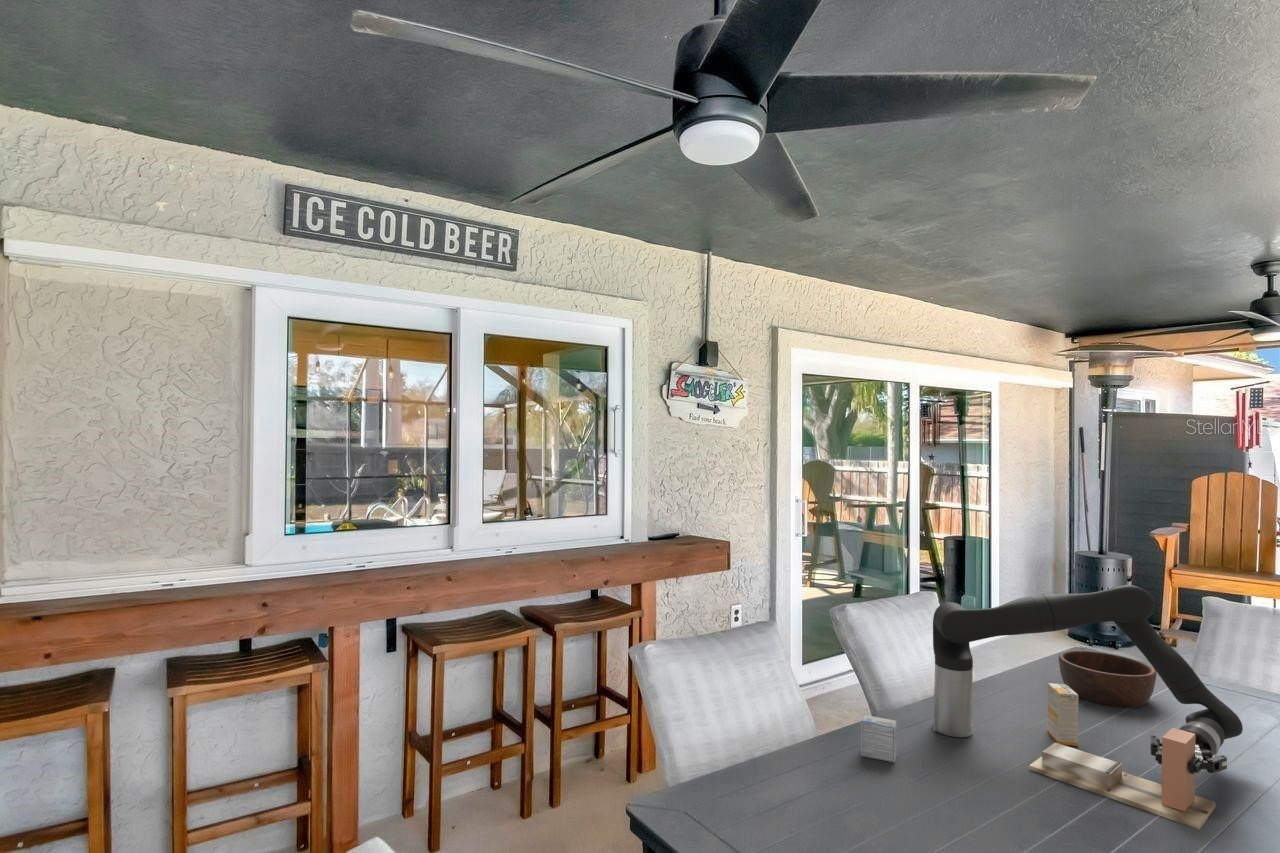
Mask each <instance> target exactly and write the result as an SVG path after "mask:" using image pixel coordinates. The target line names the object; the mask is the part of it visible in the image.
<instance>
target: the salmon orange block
mask: <svg viewBox="0 0 1280 853" xmlns="http://www.w3.org/2000/svg"><path fill="white" fill-rule="evenodd" d="M1195 736H1196V734H1194V733H1191V732H1187V731H1183V730H1180V728H1175V727H1172V728H1170V729H1169V730H1168V731H1167V732H1166V733H1165V734H1163V736H1162V738H1161V739H1162V740H1161V741H1162V764H1161V785H1162V793H1161V804H1163V805H1166V806H1169V807H1172V808H1175V809H1178V810H1181V811H1184V812H1185V811H1186V810H1187V808H1188V807H1189V806H1190V805H1191V804H1192V802H1193V801H1194V800H1195V796H1196V773H1194V774H1191V773H1189V763H1190V762H1191V761H1192V759H1193V758H1194V752H1195Z"/></svg>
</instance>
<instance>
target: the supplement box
mask: <svg viewBox="0 0 1280 853" xmlns="http://www.w3.org/2000/svg"><path fill="white" fill-rule="evenodd" d="M1046 718H1047V726H1046V727H1047V728H1046V730H1047V731H1046V732H1047V733H1048V734H1049V735H1050V736H1051V738H1052V739H1053V740H1054V741H1055V743H1058V744H1061V745H1065V746H1075V747H1078V746H1079V745H1078V744H1079V737H1078V736H1079V697H1078V694H1077V693H1075V692H1074V691H1073V690H1072V689H1071V688H1070V687H1068V686H1067V685H1065V684H1063V683H1052V682H1048V683H1047V717H1046Z"/></svg>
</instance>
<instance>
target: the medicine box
mask: <svg viewBox="0 0 1280 853" xmlns="http://www.w3.org/2000/svg"><path fill="white" fill-rule="evenodd" d="M860 724H861V725H860V726H861V728H860V730H861V733H860V734H861V736H860V756H861V757H863V758H870V759H876V760H880V761H885V762H889V763H896V759H897V750H898V748H897V742H898V741H897V735H898V734H897V732H898V731H897V729H898V727H897V726H898V725H897V724H898V722H897V720H894V719H889V718H883V717H879V716H872V715H863V717H862V719H861V723H860Z"/></svg>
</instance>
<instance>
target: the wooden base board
mask: <svg viewBox="0 0 1280 853" xmlns="http://www.w3.org/2000/svg"><path fill="white" fill-rule="evenodd" d="M1028 770H1030V771H1032V772H1035V773H1038V774H1040V775H1043V776H1047V777H1049V778H1052V779H1055V780H1057V781H1061V782H1063V783H1066V784H1069V785H1071V786H1075V787H1077V788H1080V789H1083V790H1086V791H1088V792H1092V793H1095V794H1098V795H1100V796H1104V797H1105V798H1109V799H1112V800H1114V801H1117V802H1121V803H1123V804H1124V805H1125V804H1126V805H1128V806H1132V807H1134V808H1137V809H1140V810H1142V811H1146V812H1149V813H1152V814H1153V815H1157V816H1159V817H1163V818H1164V819H1168V820H1171V821H1173V822H1177V823H1178V824H1179V823H1180V824H1182V825H1185V826H1188V827H1191V828H1193V829H1195V830H1196V829H1197V830H1200V829H1201V828H1202V827H1203V825H1204V824H1205V823H1206V821H1207V820H1208V818H1209V817H1210V815H1211V814H1212V813H1213V812H1214V810H1215V809H1216V807H1217V802H1216V801H1214V800H1210V799H1206V798H1204V797H1201V796H1198V795H1195V800H1194V801H1193V802H1192V804H1191V805H1190V806H1189V807H1188V808H1187V810H1186V811H1185V812H1184V811H1181V810H1178V809H1175V808H1172V807H1169V806H1166V805H1163V804H1161V793H1162V783H1159V782H1155V781H1152V780H1149V779H1145V778H1142V777H1139V776H1138V775H1133V774H1131V773H1127V772H1124V771H1123V763H1121V762H1120V761H1116V760H1115V761H1114V760H1111V759H1108V758H1106V757H1102V756H1099V755H1096V754H1092V753H1089V752H1086V751H1083V750H1079V749H1077V748H1074V747H1070V746H1069V745H1063V744H1058V743H1057V742H1054V743H1052V744H1051V745H1049V746H1048V747H1047V748H1045V749H1043V751H1041V756H1040V757H1039V758H1038V759H1036V760H1034V761H1033V762H1032V763H1031V764H1029V765H1028Z"/></svg>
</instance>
